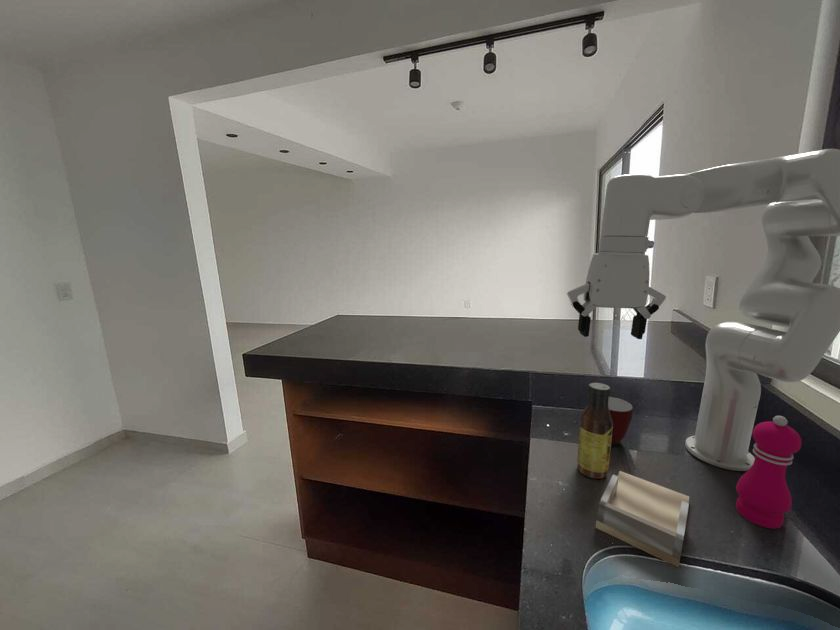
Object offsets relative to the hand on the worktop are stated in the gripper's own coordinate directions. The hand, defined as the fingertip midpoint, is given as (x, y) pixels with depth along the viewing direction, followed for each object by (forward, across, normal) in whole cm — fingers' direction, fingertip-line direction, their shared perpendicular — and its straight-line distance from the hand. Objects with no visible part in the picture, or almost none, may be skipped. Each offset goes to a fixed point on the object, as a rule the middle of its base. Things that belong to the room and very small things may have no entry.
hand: (609, 336), depth 69 cm
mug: (+31, -9, -16) cm, 36 cm away
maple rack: (+31, -6, +10) cm, 33 cm away
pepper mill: (+31, -27, +8) cm, 42 cm away
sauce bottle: (+32, -1, -2) cm, 32 cm away
